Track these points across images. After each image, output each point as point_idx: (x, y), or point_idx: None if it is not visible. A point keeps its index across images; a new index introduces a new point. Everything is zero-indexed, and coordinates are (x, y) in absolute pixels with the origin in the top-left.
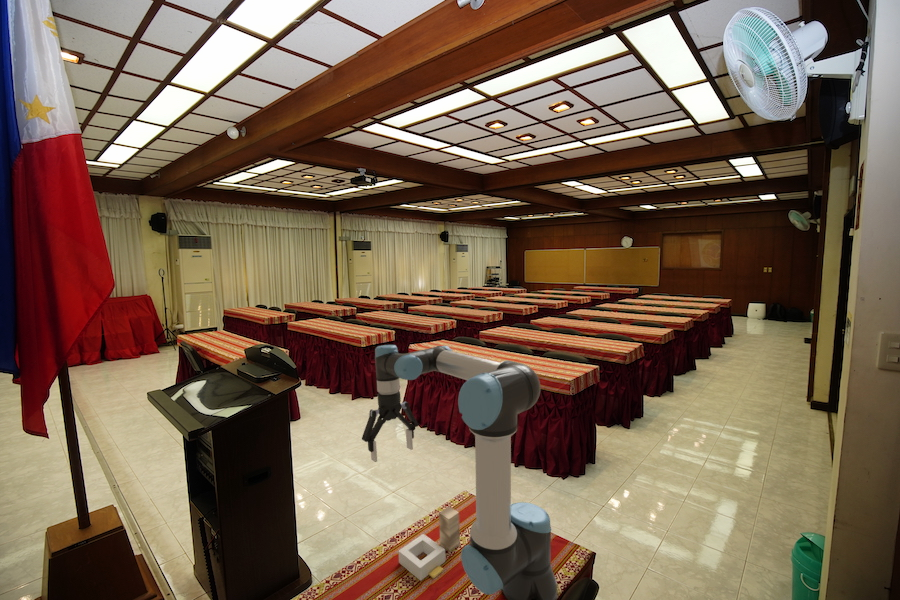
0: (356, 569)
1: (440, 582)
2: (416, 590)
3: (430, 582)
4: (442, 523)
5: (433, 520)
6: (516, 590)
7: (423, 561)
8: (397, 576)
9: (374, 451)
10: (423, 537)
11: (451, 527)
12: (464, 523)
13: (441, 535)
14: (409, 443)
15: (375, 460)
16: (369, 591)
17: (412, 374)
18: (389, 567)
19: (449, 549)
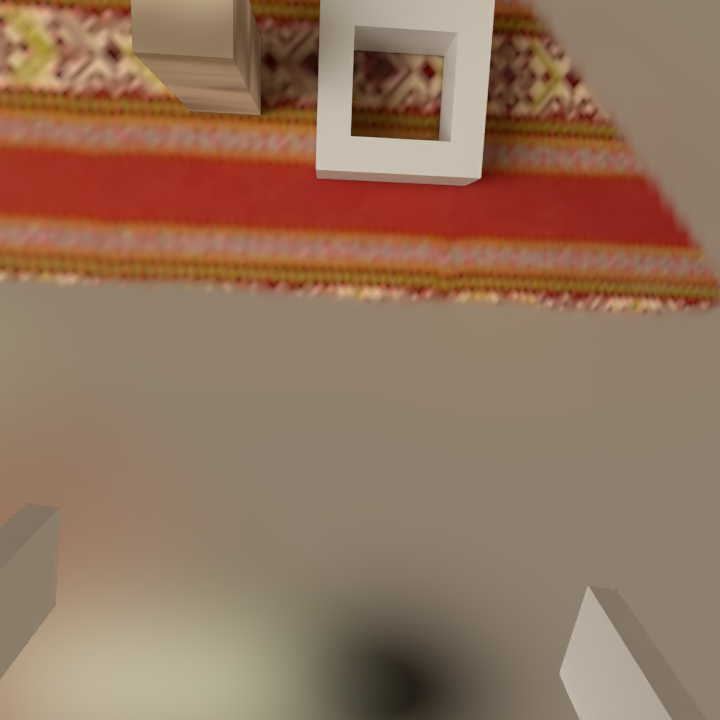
0: (595, 303)
1: None
2: (520, 5)
3: None
4: (242, 45)
5: (157, 274)
6: None
7: (453, 17)
8: (517, 133)
9: (700, 710)
10: (334, 147)
11: None
12: (55, 126)
13: (253, 86)
14: (9, 590)
15: (619, 603)
16: (638, 165)
17: None
18: (505, 202)
19: (259, 40)
